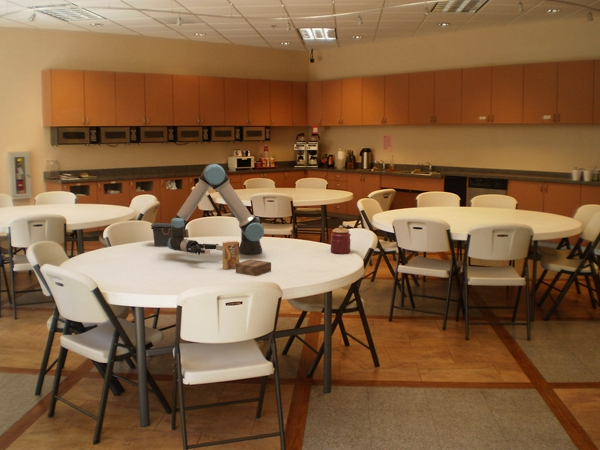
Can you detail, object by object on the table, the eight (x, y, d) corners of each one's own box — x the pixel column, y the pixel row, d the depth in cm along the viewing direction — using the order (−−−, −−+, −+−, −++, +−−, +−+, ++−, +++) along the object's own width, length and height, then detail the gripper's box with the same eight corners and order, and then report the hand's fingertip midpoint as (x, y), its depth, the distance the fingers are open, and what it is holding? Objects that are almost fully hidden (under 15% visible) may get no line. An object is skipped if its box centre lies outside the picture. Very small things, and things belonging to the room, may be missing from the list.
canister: (327, 253, 402) (327, 226, 400) (334, 249, 414) (334, 223, 412) (346, 255, 398) (347, 227, 395) (353, 251, 409) (353, 224, 407)
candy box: (237, 266, 362) (236, 240, 360) (239, 268, 358) (239, 241, 356) (222, 268, 358) (222, 241, 356) (224, 269, 354) (224, 242, 352)
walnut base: (235, 272, 348) (235, 263, 347) (251, 267, 359) (251, 259, 358) (256, 275, 340) (256, 266, 339) (271, 271, 352) (271, 262, 351)
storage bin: (184, 243, 433) (184, 222, 430) (182, 247, 417) (182, 226, 415) (153, 243, 430) (152, 223, 428) (150, 248, 415) (149, 226, 413)
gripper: (175, 242, 362) (203, 247, 351) (204, 237, 383) (231, 241, 372) (175, 255, 363) (203, 260, 352) (204, 249, 384) (231, 253, 373)
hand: (217, 250), depth 362 cm, fingers open, 13 cm apart
